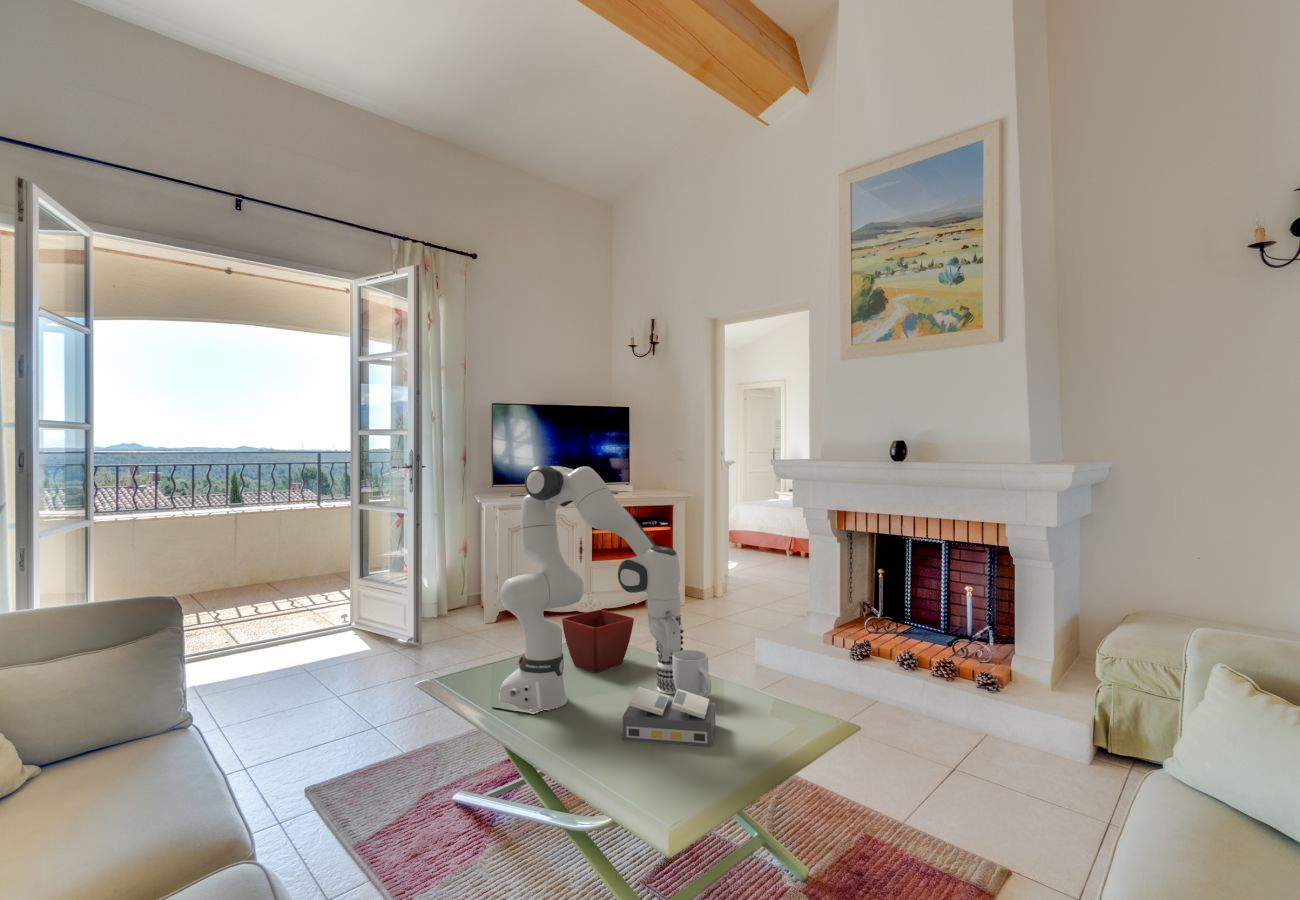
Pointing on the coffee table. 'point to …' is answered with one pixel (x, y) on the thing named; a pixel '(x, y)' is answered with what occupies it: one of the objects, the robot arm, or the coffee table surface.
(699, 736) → the switch console
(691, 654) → the mug
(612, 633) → the plant pot
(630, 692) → the coffee table surface
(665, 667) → the black and white cylinder
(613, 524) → the robot arm
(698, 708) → the rocker right
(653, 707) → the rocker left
